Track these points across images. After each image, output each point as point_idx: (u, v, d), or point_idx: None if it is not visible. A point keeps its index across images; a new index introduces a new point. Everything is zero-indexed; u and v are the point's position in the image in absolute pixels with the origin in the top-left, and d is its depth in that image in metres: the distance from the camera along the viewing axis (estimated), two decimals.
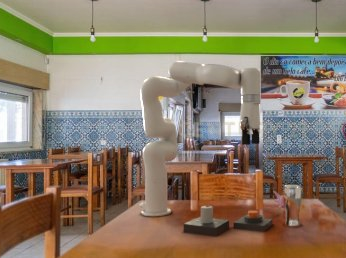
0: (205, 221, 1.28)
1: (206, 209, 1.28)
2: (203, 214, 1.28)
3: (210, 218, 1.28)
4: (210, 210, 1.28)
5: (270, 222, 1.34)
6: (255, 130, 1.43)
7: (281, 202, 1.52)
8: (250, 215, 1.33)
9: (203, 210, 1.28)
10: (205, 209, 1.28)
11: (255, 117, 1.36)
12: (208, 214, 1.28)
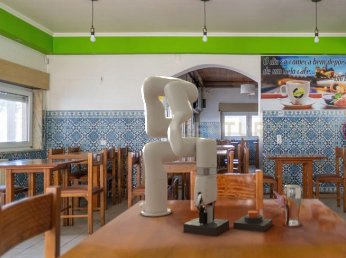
0: None
1: None
2: None
3: (210, 218, 1.28)
4: (210, 210, 1.28)
5: (270, 222, 1.34)
6: (210, 205, 1.33)
7: (281, 202, 1.52)
8: (250, 215, 1.33)
9: None
10: None
11: (210, 191, 1.28)
12: (208, 214, 1.28)
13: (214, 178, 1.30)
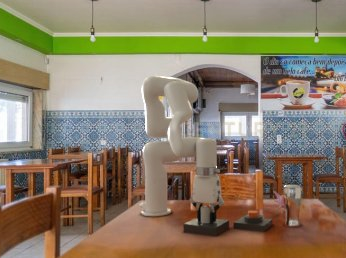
0: None
1: None
2: None
3: (202, 218, 1.28)
4: (202, 210, 1.28)
5: (270, 222, 1.34)
6: None
7: (281, 202, 1.52)
8: (250, 215, 1.33)
9: None
10: None
11: (200, 191, 1.28)
12: None
13: (206, 179, 1.27)
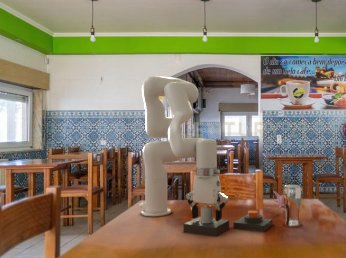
0: None
1: None
2: None
3: (202, 218, 1.28)
4: (202, 210, 1.28)
5: (270, 222, 1.34)
6: None
7: (281, 202, 1.52)
8: (250, 215, 1.33)
9: None
10: None
11: (200, 191, 1.28)
12: None
13: (207, 180, 1.27)
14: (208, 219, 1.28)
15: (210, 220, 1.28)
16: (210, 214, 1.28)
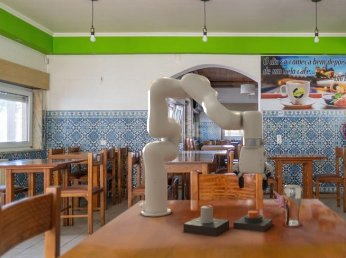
0: None
1: None
2: None
3: (202, 218, 1.28)
4: (202, 210, 1.28)
5: (270, 222, 1.34)
6: None
7: (281, 202, 1.52)
8: (250, 215, 1.33)
9: None
10: None
11: (247, 161, 1.32)
12: None
13: (254, 150, 1.31)
14: (208, 219, 1.28)
15: (210, 220, 1.28)
16: (210, 214, 1.28)
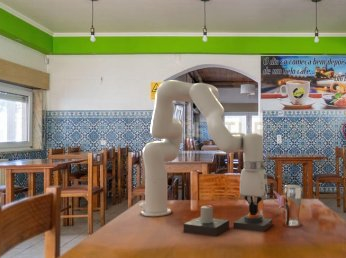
0: None
1: None
2: None
3: (202, 218, 1.28)
4: (202, 210, 1.28)
5: (270, 222, 1.34)
6: None
7: (281, 202, 1.52)
8: None
9: None
10: None
11: (247, 184, 1.33)
12: None
13: (254, 173, 1.31)
14: (208, 219, 1.28)
15: (210, 220, 1.28)
16: (210, 214, 1.28)
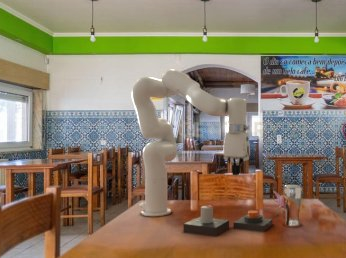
0: None
1: None
2: None
3: (202, 218, 1.28)
4: (202, 210, 1.28)
5: (270, 222, 1.34)
6: None
7: (281, 202, 1.52)
8: (250, 215, 1.33)
9: None
10: None
11: (230, 146, 1.40)
12: None
13: (237, 135, 1.39)
14: (208, 219, 1.28)
15: (210, 220, 1.28)
16: (210, 214, 1.28)
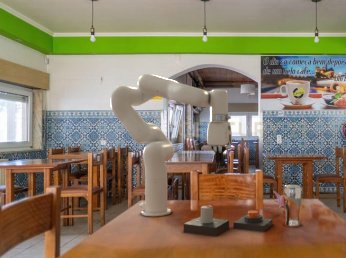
0: None
1: None
2: None
3: (202, 218, 1.28)
4: (202, 210, 1.28)
5: (270, 222, 1.34)
6: None
7: (281, 202, 1.52)
8: (250, 215, 1.33)
9: None
10: None
11: (213, 135, 1.48)
12: None
13: (219, 124, 1.47)
14: (208, 219, 1.28)
15: (210, 220, 1.28)
16: (210, 214, 1.28)
